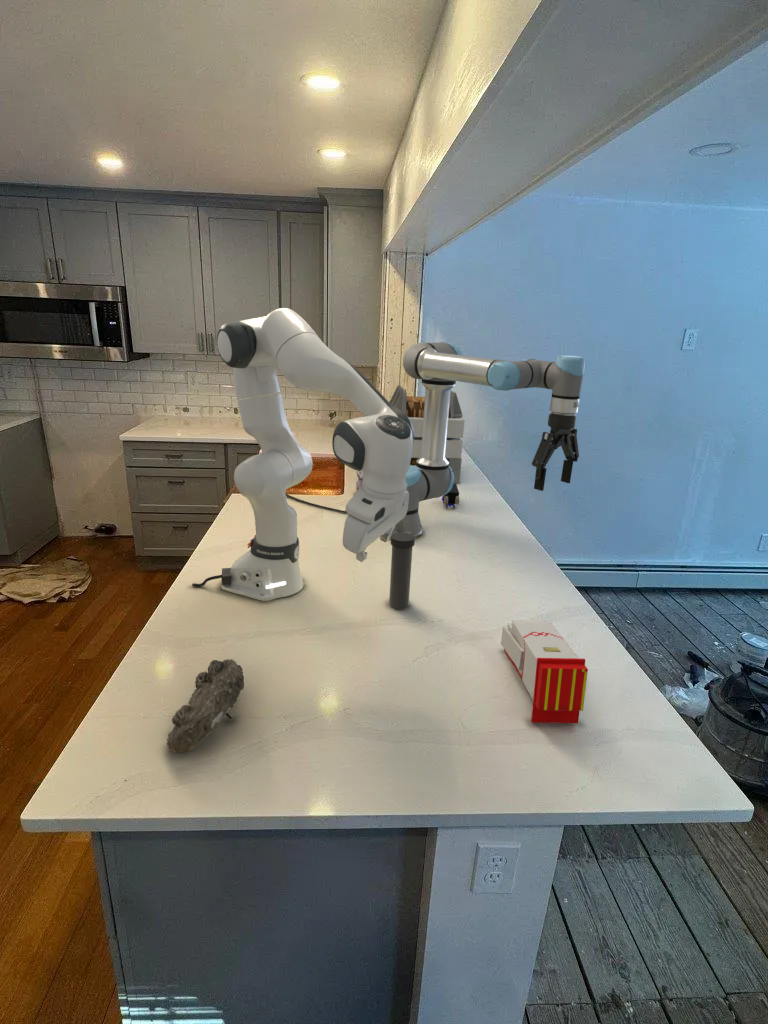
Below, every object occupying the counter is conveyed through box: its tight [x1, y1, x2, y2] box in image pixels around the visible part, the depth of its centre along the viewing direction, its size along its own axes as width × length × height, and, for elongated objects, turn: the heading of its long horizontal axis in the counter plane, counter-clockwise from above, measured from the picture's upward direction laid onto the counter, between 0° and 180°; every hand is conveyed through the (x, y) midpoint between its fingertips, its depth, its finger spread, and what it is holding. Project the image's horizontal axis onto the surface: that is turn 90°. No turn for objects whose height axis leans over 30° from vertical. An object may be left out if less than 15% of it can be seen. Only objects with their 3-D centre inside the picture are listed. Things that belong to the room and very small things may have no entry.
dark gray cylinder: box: [388, 545, 413, 610], centre depth 149 cm, size 5×5×19 cm
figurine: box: [355, 470, 363, 493], centre depth 237 cm, size 9×10×15 cm
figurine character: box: [441, 483, 460, 509], centre depth 231 cm, size 7×8×15 cm
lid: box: [390, 532, 416, 549], centre depth 146 cm, size 6×6×2 cm
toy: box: [500, 620, 589, 724], centre depth 121 cm, size 12×13×30 cm
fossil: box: [166, 658, 245, 754], centre depth 106 cm, size 22×10×15 cm
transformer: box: [388, 384, 465, 484], centre depth 268 cm, size 34×33×41 cm
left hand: (373, 549), depth 122 cm, fingers open, 8 cm apart
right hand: (552, 485), depth 166 cm, fingers open, 13 cm apart
